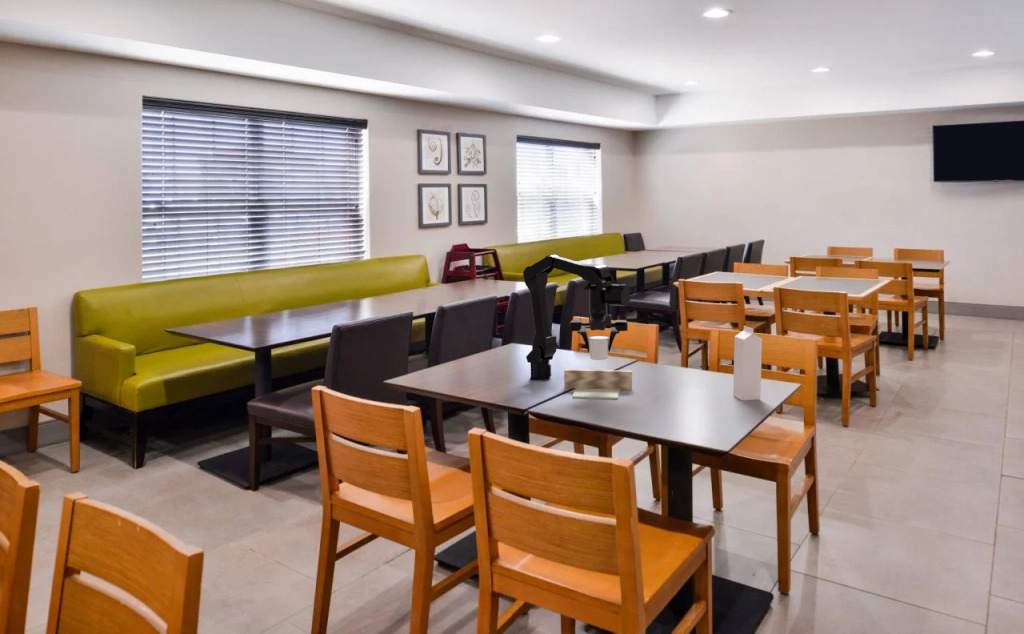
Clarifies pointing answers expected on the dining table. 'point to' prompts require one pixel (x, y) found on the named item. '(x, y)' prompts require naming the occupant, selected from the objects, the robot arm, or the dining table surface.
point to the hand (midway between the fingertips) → (598, 351)
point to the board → (598, 379)
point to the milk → (747, 365)
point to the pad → (596, 393)
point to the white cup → (598, 347)
